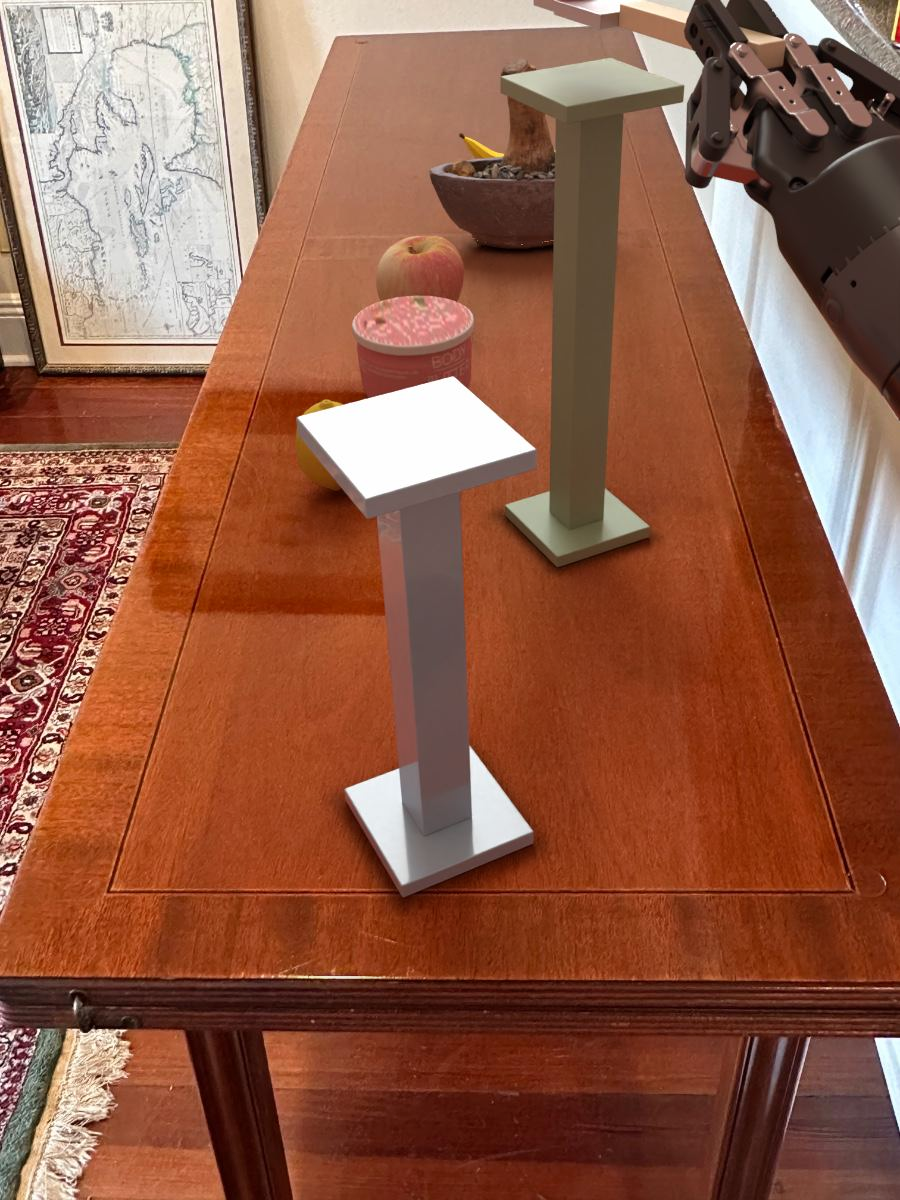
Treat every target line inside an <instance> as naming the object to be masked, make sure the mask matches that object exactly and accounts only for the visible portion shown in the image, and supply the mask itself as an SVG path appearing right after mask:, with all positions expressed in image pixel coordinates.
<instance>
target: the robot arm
mask: <svg viewBox="0 0 900 1200" xmlns="http://www.w3.org/2000/svg"><path fill="white" fill-rule="evenodd" d="M688 13H689V16H688V18H687V21H686V26H685V29H684V35H685V39H686V40H687V42H688V43H689V45H690V46H691V48H692V49H693V50H692V51H693V52H694V53H695V55H696V57H697V58H698V59H699V61H700V62H701V64H702V65H703V67H702V70H701V74H700V76H699V78H698V80H697V83H696V85H695V87H694V88H693V91H692V92H691V94H690V95H689V97H688V100H687V102H686V116H685V117H686V120H685V121H686V122H685V155H684V156H685V157H684V159H685V162H684V163H685V164H684V179H685V181H686V182H687V184H688V185H690V186H691V187H692V188H696V189H706V188H707V187H709V185H710V183H711V181H712V180H713V178H717V179H722V180H726V181H730V182H734V183H739V184H742V186H743V189H744V191H745V193H746V194H747V196H748V197H749V198H750V199H751V200H752V201H754V202H755V203H757V204H758V205H759V206H761V207H762V208H764V209H765V211H767V212H768V214H769V215H770V216H771V217H772V218H771V219H772V220H773V224H774V225H773V226H774V229H775V237H776V243H777V248H778V250H779V252H780V254H781V256H782V257H783V259H784V260H785V262H786V264H787V265H788V266H789V268H790V269H791V272H792V273H793V274H794V275H795V277H796V278H797V280H798V281H799V283H800V284H801V287H802V288H803V289H804V291H805V292H806V294H807V295H808V297H809V298H810V299H811V301H812V303H813V304H814V306H815V308H816V309H817V310H818V312H819V314H820V315H821V317H822V318H823V319H824V321H825V323H826V324H827V325H828V327H829V329H830V330H831V331H832V334H833V335H834V336H835V338H836V339H837V341H838V343H839V344H840V345H841V347H842V348H843V350H844V351H845V353H846V354H847V356H848V357H849V359H850V360H851V361H852V363H853V364H854V365H855V366H856V367H857V368H858V370H859V371H860V372H861V373H862V374H863V375H864V376H865V377H866V378H867V380H869V382H870V383H871V384H872V385H873V386H874V387H875V389H876V390H877V392H878V393H879V394H880V395H881V396H882V397H883V400H884V402H885V403H886V405H887V406H888V407H889V409H890V410H891V412H892V414H893V415H894V417H895V418H896V419H897V421H898V423H899V424H900V79H899V78H897V77H896V76H894V75H892V74H890V73H889V72H888V71H886V70H884V69H883V68H881V67H879V66H878V65H876V64H875V63H873V62H871V61H870V60H868V59H867V58H866V57H863V56H862V55H861V54H860V53H857V52H856V51H854V50H853V49H851V48H849V47H847V46H846V45H845V44H843V43H842V42H840V41H838V39H837V40H836V39H835V38H832V37H824V38H821V39H820V40H819V43H818V44H817V45H815V44H808V42H807V40H806V39H805V38H804V37H802V36H801V35H799V34H797V33H792V32H791V33H790V32H789V31H788V29H787V28H786V27H785V25H784V24H783V22H782V21H781V20H780V18H779V17H778V16H777V14H776V13H775V11H774V10H773V8H772V7H771V5H770V4H769V3H768V1H766V0H728V2H727V4H726V6H725V4H724V3H723V2H722V0H694V2H693V4H692V6H691V9H690V11H689V12H688ZM740 27H742V28H745V29H749V30H752V31H756V32H760V33H763V34H767V35H770V36H774V37H778V38H781V39H785V40H786V45H785V53H784V62H783V66H781V67H775V68H770V69H767V68H766V66H765V65H764V64H763V63H762V61H761V60H760V59H759V57H758V56H757V55H756V53H755V52H754V51H753V49H752V48H751V47H750V46H748V45H746V44H747V42H748V41H749V40H748V39H747V37H746V36H745V34H744V33H743V32H742V30H741V29H740ZM838 72H839V73H842V74H843V75H844V76H846V77H847V78H849V79H850V80H851V81H852V85H851V87H850V88H849V89H848V86H847V85H846V84H845V82H844V81H843V79H842V78H841V76H840V75H839V73H838ZM742 83H744V84H745V87H746V93H744V91H743V90H742V89H741V85H742Z"/></svg>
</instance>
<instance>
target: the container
mask: <svg viewBox="0 0 900 1200" xmlns="http://www.w3.org/2000/svg"><path fill="white" fill-rule="evenodd" d="M351 328H352V336H353V338H354V340H355V341H356V351H357V352H356V353H357V357H358V358H357V359H358V366H359V372H360V379H361V386H362V388H363V390H364V392H365V394H366V396H367V399H368V398H372V397H376V396H380V395H383V394H387V393H391V392H395V391H399V390H403V389H406V388H410V387H414V386H418V385H422V384H426V383H430V382H433V381H437V380H441V379H445V378H449V377H455V378H456V379H457V380H458V381H460V382H461V383H462V384H463V385H464V386H465V387H466V388H467V389H469V387H470V385H471V384H470V383H471V380H472V347H473V346H472V343H473V342H472V335H473V332H474V329H475V319H474V314H473V312H472V311H471V310H470V309H469V308H468V307H466V306H465V304H462V303H460V302H459V301H457V302H456V301H453V300H450V299H445V298H441V297H433V296H405V297H397V298H392V299H387V300H383V301H380V300H379V301H377V302H374V303H373V304H370V305H368V306H366V307H364V308H363V309H361V310H360V311H359V312H358V313H357V314H355V316H354V318H353V320H352V325H351Z"/></svg>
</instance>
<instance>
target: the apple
mask: <svg viewBox="0 0 900 1200" xmlns="http://www.w3.org/2000/svg"><path fill="white" fill-rule="evenodd" d="M375 279H376V280H375V284H376V291H377V292H376V293H377V296H378V298H379V302H380V301H383V300H387V299H392V298H397V297H405V296H433V297H441V298H445V299H450V300H453V301H456V302H459V299H460V296H461V294H462V289H463V285H464V279H465V268H464V262H463V259H462V256H461V254H460V252H459V251H458V249H457V247H456V246H455V245H454V244H453V243H452V242H451V241H449V240H448V239H447V238H445V237H442V236H439V235H413V236H409V237H405V238H402V239H401V240H398V241H397V242H395V243H393V244H392V245H390V246H389V247H388V248H387V250H386V251H385V252H384V254H383V255H382V256H381V258H380V260H379V262H378V265H377V268H376V274H375Z"/></svg>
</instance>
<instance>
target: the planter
mask: <svg viewBox="0 0 900 1200" xmlns="http://www.w3.org/2000/svg"><path fill="white" fill-rule="evenodd" d="M536 70H537V68H536V66H535V65H534V64H531V63H530V62H529V61H528V59H526V58H516V59H513V60H512V61H510V62H508V63H506V64H505V66H504V67H503V68H502V70H501V71H500V77H501V76H506V75H512V74H518V73H524V72H530V71H536ZM506 98H507V106H508V113H509V116H508V117H509V135H508V136H509V137H508V143H507V146H506V150H505V152H504V153H503V154H504V156H502V157H494V158H485V159H476V158H472V159H466V160H462V159H461V160H459V161H456V162H448V163H443V164H439V165H436V166H433V167H432V168H430V169H429V178H430V182H431V185H432V186H433V189H434V192H435V193H436V195H437V198H438V200H439V202H440V204H441V206H442V208H443V209H444V211H445V212H446V215H447V216H448V217H449V219H450V220H451V221H452V222H453V223H454V225H456V226H457V227H458V228H459V229H461V230H463V231H465V232H467V233H470V234H471V237H472V239H473V238H475V239H473V240H474V242H475V243H476V244H477V245H481V246H487V247H492V248H499V249H500V248H501V249H507V250H509V249H512V250H514V249H517V250H518V249H519V250H520V249H532V248H542V247H550V246H554V241H550V240H554V193H555V151H554V149H555V147H554V145H553V141H552V137H551V134H550V133H551V132H550V129H549V125H548V121H547V117H546V114H545V113H542V112H540V111H538V110H536V109H534V108H532V107H530V106H527V105H525V104H523V103H521V102H519V101H517V100H515V99H512V98H510V97H508V96H506ZM477 240H478V241H477ZM544 241H549V242H544ZM485 242H486V243H485ZM542 242H543V243H542ZM521 244H523V245H521Z"/></svg>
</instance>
